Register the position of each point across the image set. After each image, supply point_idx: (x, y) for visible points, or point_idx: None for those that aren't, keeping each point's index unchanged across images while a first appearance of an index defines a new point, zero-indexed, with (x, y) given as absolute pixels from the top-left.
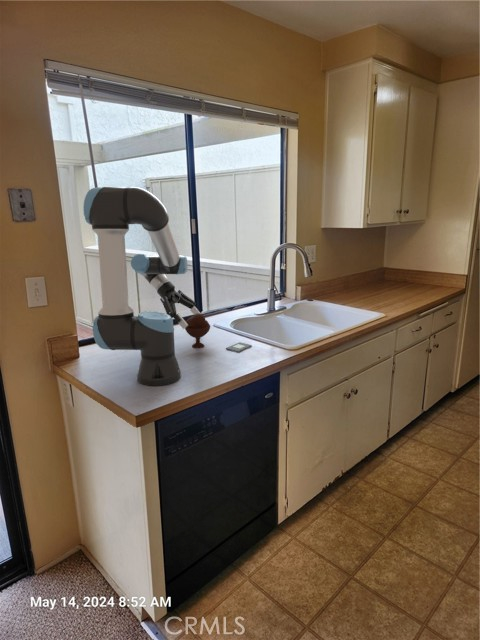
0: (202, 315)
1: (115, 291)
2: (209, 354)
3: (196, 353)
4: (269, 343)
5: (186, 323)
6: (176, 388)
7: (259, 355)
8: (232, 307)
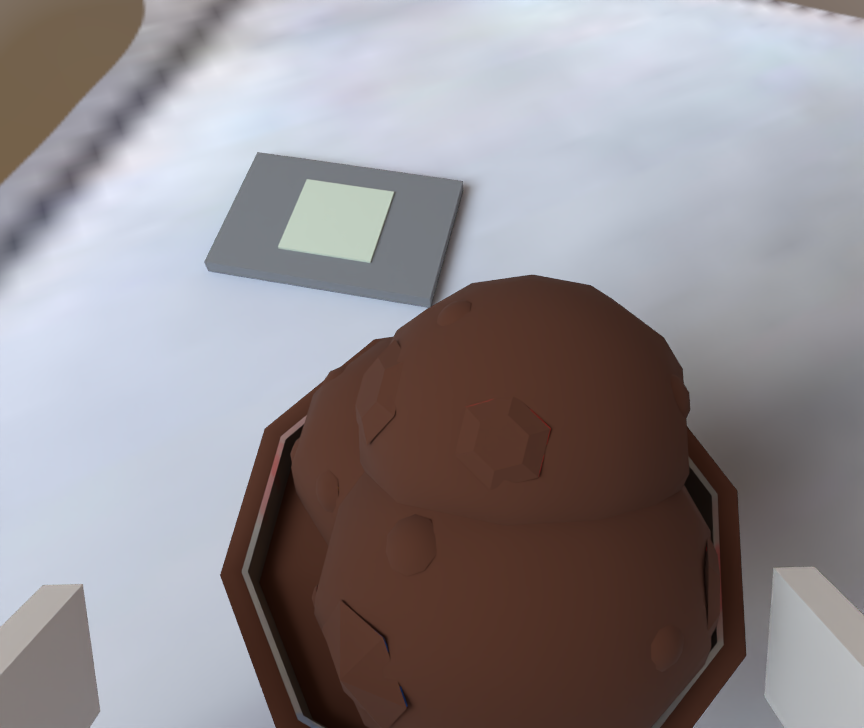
0: (508, 282)
1: None
2: None
3: None
4: (137, 87)
5: (813, 591)
6: None
7: (451, 59)
8: None
